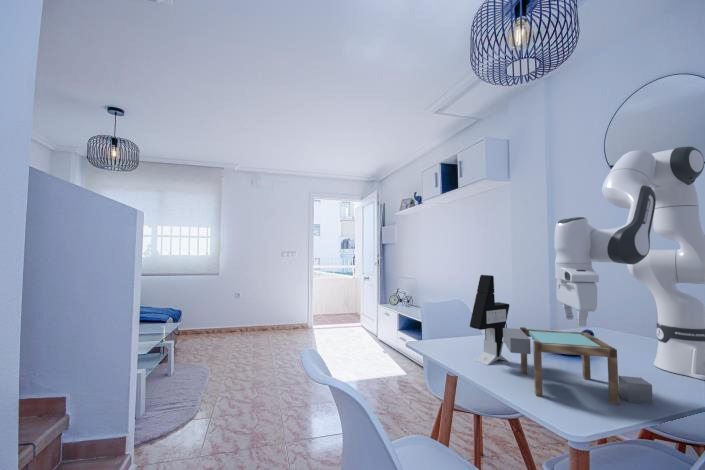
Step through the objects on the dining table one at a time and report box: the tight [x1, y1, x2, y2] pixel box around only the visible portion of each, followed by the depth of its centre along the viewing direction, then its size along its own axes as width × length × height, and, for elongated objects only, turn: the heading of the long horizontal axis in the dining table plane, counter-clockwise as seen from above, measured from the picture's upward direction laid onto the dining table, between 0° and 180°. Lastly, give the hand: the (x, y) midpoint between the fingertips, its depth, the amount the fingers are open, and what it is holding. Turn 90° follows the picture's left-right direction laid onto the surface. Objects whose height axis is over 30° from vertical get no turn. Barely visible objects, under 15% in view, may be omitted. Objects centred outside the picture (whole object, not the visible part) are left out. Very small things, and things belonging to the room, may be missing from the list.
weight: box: [618, 375, 654, 406], centre depth 85 cm, size 5×5×5 cm
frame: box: [519, 326, 620, 406], centre depth 93 cm, size 18×18×14 cm
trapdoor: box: [502, 327, 601, 355], centre depth 95 cm, size 22×14×4 cm, turn 74°
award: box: [469, 274, 510, 366], centre depth 116 cm, size 15×5×30 cm, turn 117°
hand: (575, 322), depth 93 cm, fingers open, 8 cm apart
